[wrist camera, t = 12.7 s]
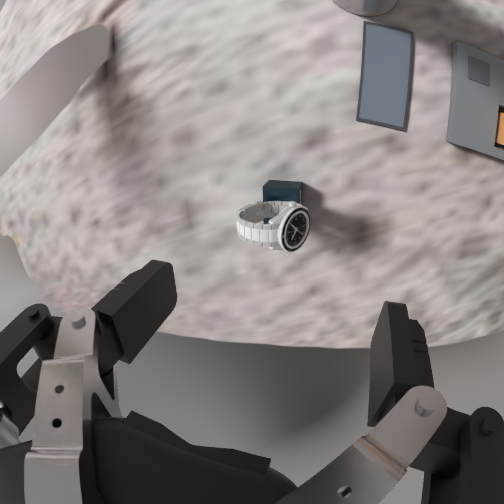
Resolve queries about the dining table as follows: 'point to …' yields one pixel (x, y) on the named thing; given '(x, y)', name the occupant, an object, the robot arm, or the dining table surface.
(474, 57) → the outlet plate
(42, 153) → the dining table surface
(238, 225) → the watch
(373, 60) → the phone
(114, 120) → the dining table surface
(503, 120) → the block
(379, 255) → the dining table surface
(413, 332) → the robot arm
